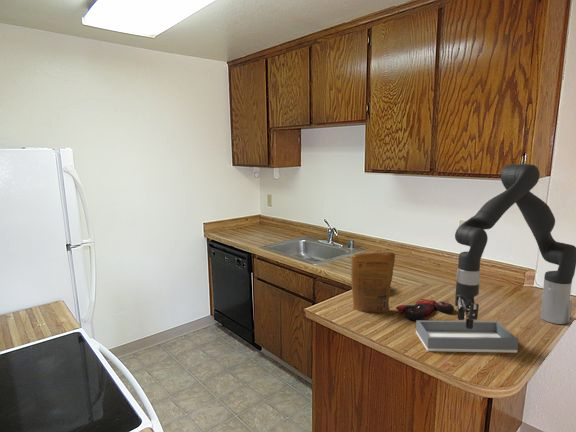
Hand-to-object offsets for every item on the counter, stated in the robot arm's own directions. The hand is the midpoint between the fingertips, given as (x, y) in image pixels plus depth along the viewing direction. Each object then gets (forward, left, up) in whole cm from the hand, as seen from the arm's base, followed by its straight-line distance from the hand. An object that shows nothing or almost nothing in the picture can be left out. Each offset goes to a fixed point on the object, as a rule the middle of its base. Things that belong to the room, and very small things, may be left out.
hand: (464, 323), depth 133 cm
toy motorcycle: (+3, -20, -6) cm, 21 cm away
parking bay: (0, 0, -7) cm, 7 cm away
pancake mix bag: (+30, -25, -8) cm, 40 cm away
